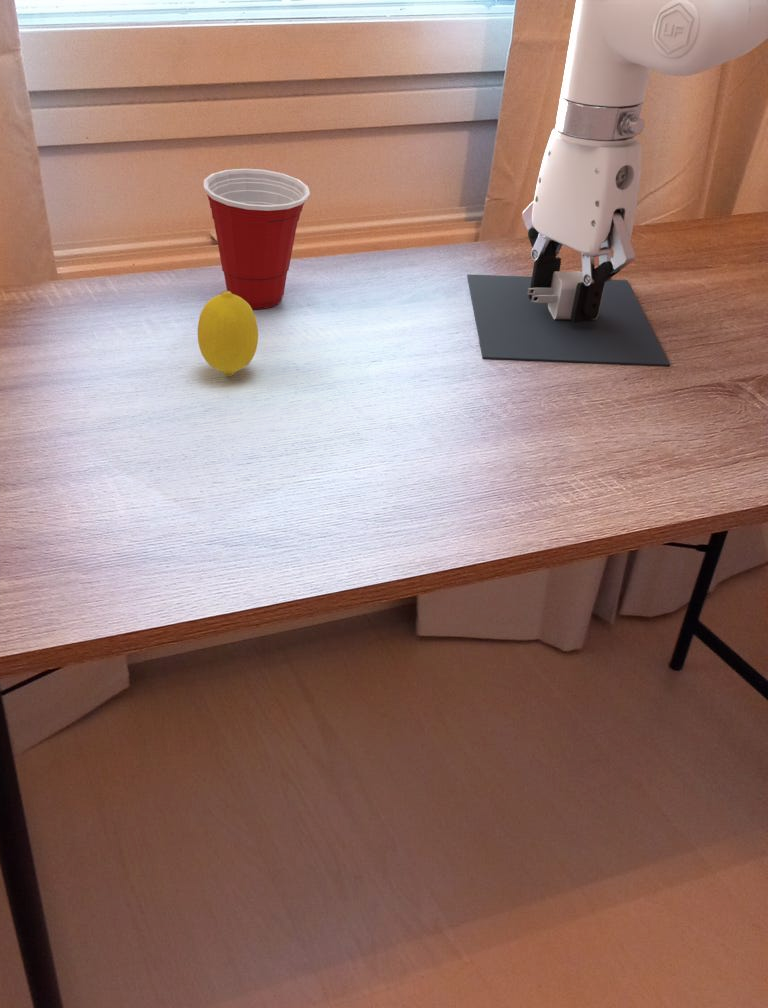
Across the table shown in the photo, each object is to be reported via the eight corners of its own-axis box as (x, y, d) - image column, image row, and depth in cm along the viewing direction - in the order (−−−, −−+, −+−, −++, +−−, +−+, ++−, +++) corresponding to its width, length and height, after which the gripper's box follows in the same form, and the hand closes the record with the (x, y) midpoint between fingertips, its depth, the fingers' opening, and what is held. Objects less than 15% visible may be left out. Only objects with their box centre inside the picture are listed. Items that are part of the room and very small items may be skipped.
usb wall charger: (596, 322, 106) (604, 283, 103) (530, 321, 106) (536, 283, 103) (587, 306, 109) (595, 269, 106) (523, 306, 109) (529, 268, 106)
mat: (670, 366, 98) (670, 364, 98) (482, 358, 99) (483, 356, 99) (626, 281, 115) (627, 280, 115) (467, 276, 116) (467, 274, 116)
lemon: (270, 376, 96) (270, 292, 91) (226, 394, 93) (223, 308, 88) (231, 357, 99) (229, 275, 94) (187, 374, 96) (182, 290, 91)
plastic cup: (274, 328, 104) (275, 206, 97) (187, 306, 108) (181, 187, 101) (325, 293, 112) (329, 177, 104) (241, 274, 116) (239, 161, 108)
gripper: (696, 137, 91) (648, 331, 102) (566, 96, 102) (536, 275, 114) (634, 147, 88) (591, 346, 99) (507, 104, 99) (482, 287, 111)
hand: (562, 306), depth 106 cm, fingers open, 5 cm apart
